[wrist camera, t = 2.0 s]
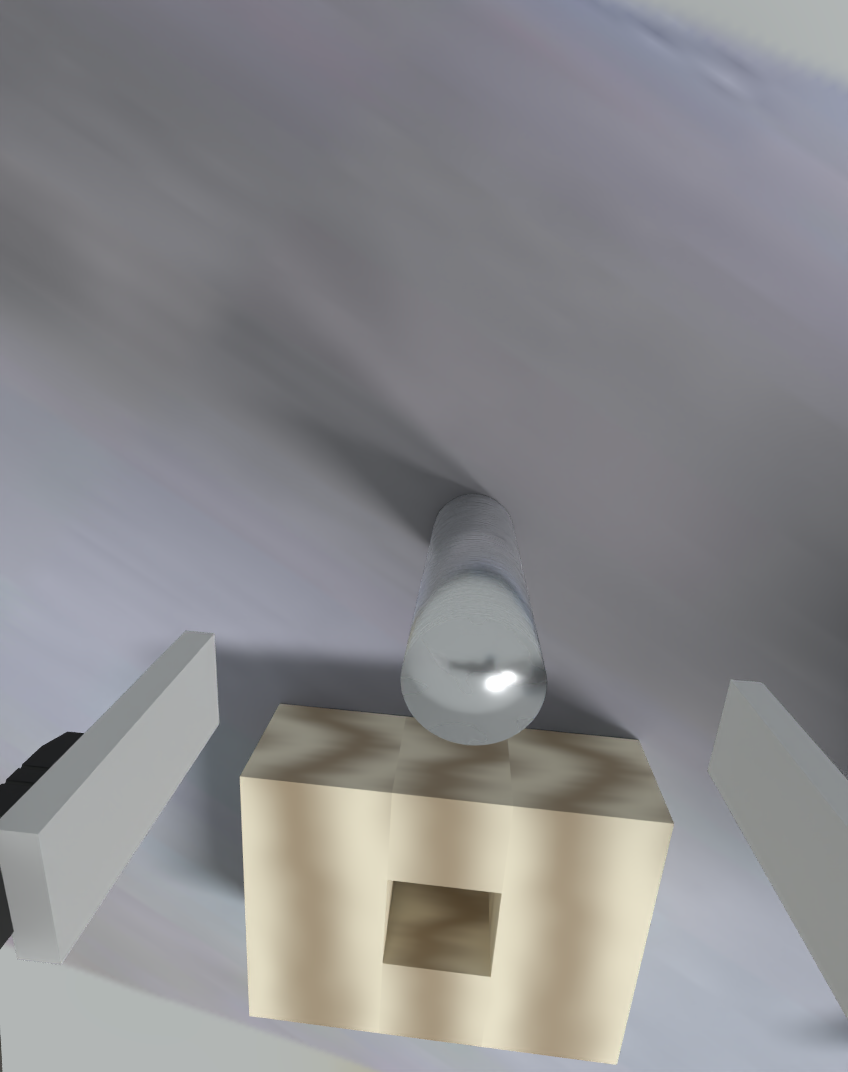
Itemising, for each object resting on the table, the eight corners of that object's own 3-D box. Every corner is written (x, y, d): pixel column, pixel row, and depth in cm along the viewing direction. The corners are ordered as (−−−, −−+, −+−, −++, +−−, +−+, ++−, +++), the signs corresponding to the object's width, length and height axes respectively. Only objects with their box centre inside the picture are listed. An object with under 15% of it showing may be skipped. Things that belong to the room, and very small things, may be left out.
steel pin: (517, 497, 29) (555, 624, 16) (509, 573, 30) (537, 752, 17) (436, 491, 29) (404, 610, 16) (430, 567, 30) (397, 737, 17)
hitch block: (638, 740, 32) (674, 823, 27) (594, 954, 37) (616, 1064, 31) (279, 703, 33) (239, 776, 28) (282, 916, 38) (249, 1016, 33)
